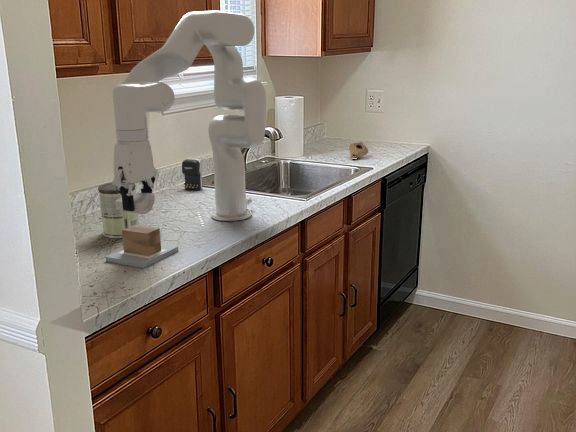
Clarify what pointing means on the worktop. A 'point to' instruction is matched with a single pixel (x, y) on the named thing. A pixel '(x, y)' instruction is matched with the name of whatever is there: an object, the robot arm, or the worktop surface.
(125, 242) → the walnut block
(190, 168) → the battery charger
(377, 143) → the worktop surface
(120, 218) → the coffee can
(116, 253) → the board
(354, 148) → the pottery oil lamp
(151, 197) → the rough stone chunk
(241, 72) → the robot arm
